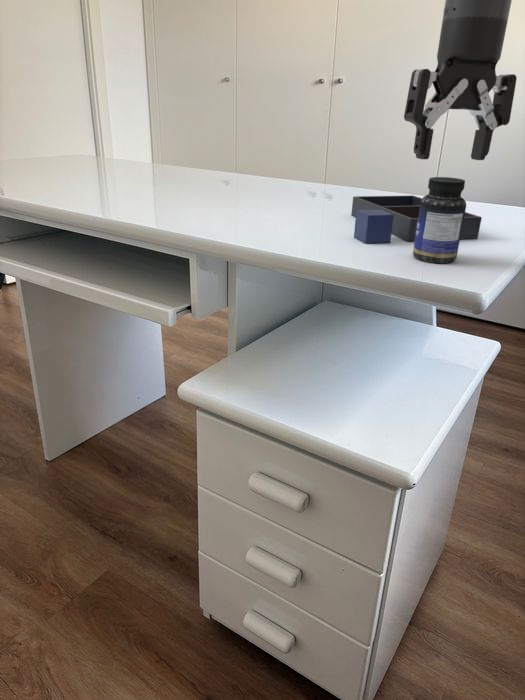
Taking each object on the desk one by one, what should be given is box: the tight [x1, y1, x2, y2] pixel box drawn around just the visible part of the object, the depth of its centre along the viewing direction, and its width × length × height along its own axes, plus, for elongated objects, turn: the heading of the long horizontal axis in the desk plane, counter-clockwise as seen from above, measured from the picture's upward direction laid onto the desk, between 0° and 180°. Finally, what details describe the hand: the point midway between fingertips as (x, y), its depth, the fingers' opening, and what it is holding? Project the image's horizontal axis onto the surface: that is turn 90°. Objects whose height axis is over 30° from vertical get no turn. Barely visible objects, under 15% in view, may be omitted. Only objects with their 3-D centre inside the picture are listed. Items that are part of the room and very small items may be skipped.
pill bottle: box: [412, 176, 467, 264], centre depth 75 cm, size 6×6×11 cm
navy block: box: [353, 210, 394, 245], centre depth 86 cm, size 4×4×4 cm
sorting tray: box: [350, 195, 483, 242], centre depth 97 cm, size 13×22×4 cm, turn 16°
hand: (450, 159), depth 72 cm, fingers open, 8 cm apart
